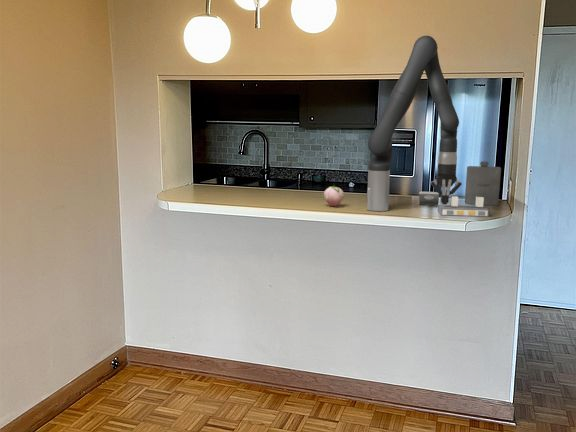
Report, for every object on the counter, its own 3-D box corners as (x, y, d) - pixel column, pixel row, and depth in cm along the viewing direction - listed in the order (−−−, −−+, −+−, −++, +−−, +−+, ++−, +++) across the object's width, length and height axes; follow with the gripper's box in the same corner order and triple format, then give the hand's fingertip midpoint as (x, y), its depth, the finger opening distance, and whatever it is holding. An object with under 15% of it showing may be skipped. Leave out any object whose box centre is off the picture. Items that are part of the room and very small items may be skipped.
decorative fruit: (347, 207, 251) (348, 185, 249) (332, 208, 247) (332, 186, 245) (335, 204, 259) (336, 182, 258) (320, 205, 255) (321, 183, 254)
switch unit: (441, 215, 234) (441, 208, 233) (437, 211, 243) (437, 204, 243) (488, 217, 232) (489, 209, 231) (483, 212, 241) (483, 205, 241)
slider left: (451, 206, 236) (452, 196, 235) (450, 204, 239) (450, 195, 239) (457, 206, 236) (458, 196, 235) (456, 205, 239) (456, 195, 238)
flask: (465, 204, 263) (468, 161, 260) (464, 202, 269) (467, 160, 265) (499, 206, 260) (502, 162, 257) (497, 204, 266) (500, 161, 262)
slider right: (477, 207, 235) (477, 196, 234) (475, 205, 238) (475, 195, 237) (483, 207, 235) (483, 197, 234) (481, 205, 238) (482, 195, 237)
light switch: (438, 201, 260) (439, 190, 247) (437, 213, 259) (438, 202, 245) (419, 200, 263) (419, 189, 249) (418, 212, 261) (418, 201, 247)
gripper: (432, 163, 232) (429, 205, 235) (465, 163, 230) (462, 206, 233) (429, 161, 239) (427, 202, 242) (461, 162, 238) (459, 203, 241)
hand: (444, 204), depth 238 cm, fingers closed
